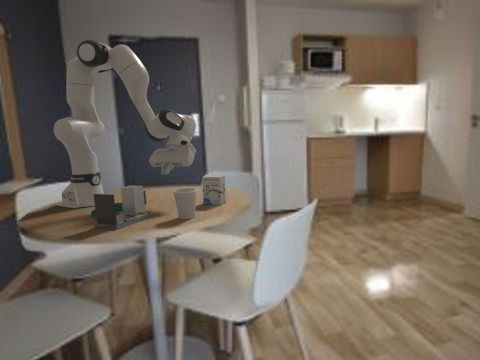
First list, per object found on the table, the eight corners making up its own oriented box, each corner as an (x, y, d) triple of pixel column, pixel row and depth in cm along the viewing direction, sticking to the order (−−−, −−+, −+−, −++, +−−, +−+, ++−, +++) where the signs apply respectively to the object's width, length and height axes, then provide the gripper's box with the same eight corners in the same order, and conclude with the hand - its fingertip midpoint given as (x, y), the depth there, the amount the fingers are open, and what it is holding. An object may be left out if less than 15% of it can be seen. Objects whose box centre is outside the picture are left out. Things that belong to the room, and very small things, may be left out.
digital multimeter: (90, 217, 140) (89, 210, 139) (116, 208, 153) (115, 202, 153) (105, 218, 137) (104, 211, 137) (130, 209, 151) (129, 202, 150)
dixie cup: (201, 214, 133) (199, 187, 132) (194, 220, 125) (192, 192, 123) (179, 214, 135) (177, 188, 133) (171, 220, 126) (169, 192, 125)
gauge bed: (94, 227, 123) (90, 194, 121) (128, 215, 137) (125, 186, 135) (116, 229, 118) (112, 195, 117) (149, 217, 133) (146, 186, 131)
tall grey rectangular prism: (123, 214, 132) (120, 187, 130) (135, 210, 138) (133, 184, 136) (141, 216, 128) (139, 188, 127) (153, 211, 134) (151, 185, 132)
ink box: (202, 204, 150) (201, 176, 149) (208, 201, 155) (206, 174, 153) (221, 205, 147) (219, 176, 145) (226, 202, 152) (225, 174, 150)
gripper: (153, 143, 157) (140, 168, 150) (192, 141, 148) (180, 168, 141) (160, 152, 162) (148, 177, 155) (199, 151, 153) (188, 178, 145)
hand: (164, 173), depth 148 cm, fingers closed
